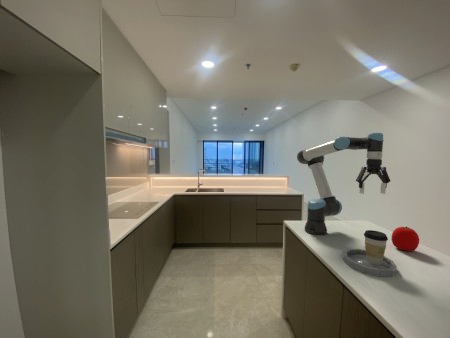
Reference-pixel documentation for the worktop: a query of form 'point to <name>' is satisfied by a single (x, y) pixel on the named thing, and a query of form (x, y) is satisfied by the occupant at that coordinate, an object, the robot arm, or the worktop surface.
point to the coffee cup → (375, 246)
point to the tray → (360, 263)
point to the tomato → (405, 238)
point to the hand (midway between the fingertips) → (372, 193)
